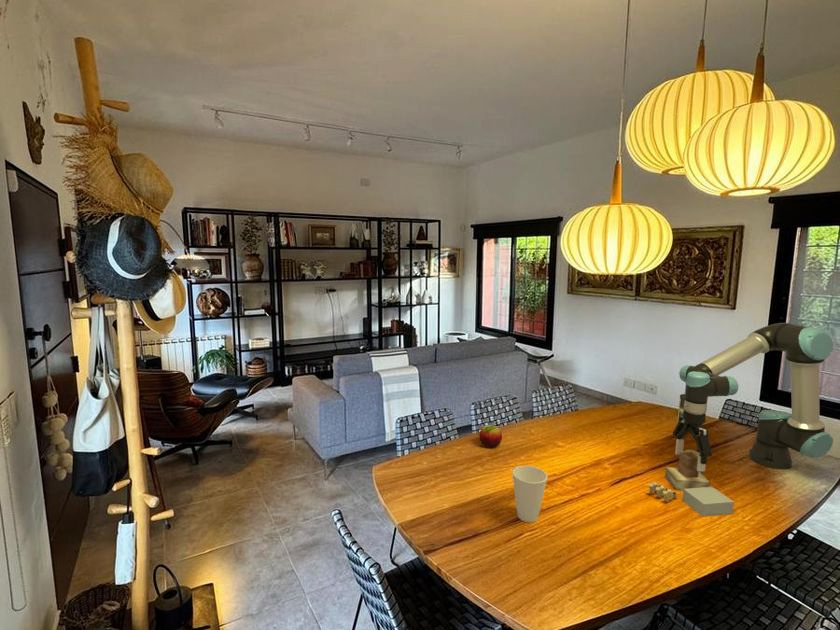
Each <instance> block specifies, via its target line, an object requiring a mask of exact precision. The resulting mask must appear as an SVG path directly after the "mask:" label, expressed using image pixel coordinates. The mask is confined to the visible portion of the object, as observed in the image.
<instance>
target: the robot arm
mask: <svg viewBox="0 0 840 630" xmlns="http://www.w3.org/2000/svg"><path fill="white" fill-rule="evenodd" d="M833 350H834V341H833V339H832V336H831V335H830V334H829V333H827V332H826V331H825V330H822V329H819V328H816V327H814V326H813V327H812V326H804V325H800V324H794V323H793V324H792V323H788V322H778V323H773V324H769V325H766V326H764V327H761V328H758V329H755V330H754V331H753V332H751V333H749V334H748V335H747V337H746V338H745V339H743V340H740V341H739V342H737V343H736V344H733V345H732V346H730V347H728V348H726V349H724V350H722V351H721V352H719V353H717V354H715V355H713V356H711V357H709V358H708V359H706V360H704V361H702V362H700V363H698V364H696V365H691V364H690V365H688V364H687V365H684V366H682V367H681V368H680V370H679V378H680V380H681V381H682V382H684V383H685V389H684V390H685V391H684V394H685V401H684V409H685V410H684V411H683V417H680V418H679V421H678V423H677V424H676V426H675V428H674V430H673V431H672V435H673V436H675V450H674V451H675V452H674V454H675V455H677V456H680V453H683V451H684V447H685V445H684V443H685V437H686V436H687V435H688V434H690V435H691V436H692V439H694V441H695V443H696V446H697V449H698V452H700V454H699V455H698V464H697V471H704V472H706V466H707V460H708V458H709V457H713V453H712V449H711V443H710V439H709V429H704V428H703V424H705V423H706V415H707V414H706V413H707V411H708V409H707V407H708V399H709V397H729V396H734V395H736V394H737V393H738V391H739V383H738V381H737V379H735V377H732V376H728V375H723V376H722V374H725V373H726V372H728V371H729V370H731V369H733V368H734V367H736V366H739V365H741V364H742V363H744V362H746V361H748V360H749V359H751V358H753V357H756V356H757V355H760V354H766V353H768V352H770V351H771V352H772V351H780V352H785V361H787V362H788V363H790V381H791V383H790V384H791V385H790V386H791V387H790V388H791V389H790V390H791V412H787V411H781V410H773V409H766V410H761V411H760V412H759V416H758V418H757V427H756V437H755V440H754V441H755V442H754V443H753V445H752V447H751V448H750V449H749V453H748V458H749V459H750V460H751V461H753V462H755V463H757V464H760V465H761V466H765V467H768V468H773V469H779V470H788V469H791V468H792V464H793V460H792V458H791V452H790V449H792V450H794V451H796V452H798V453H800V454H801V455H804V456H807V457H809V458H812V459H818V458H821V457H823V456H825V455H826V454H827V453H828V452H829V451H830V450H831V449H832V447H833V443H834V438H833V436H832V435H831V433H828V432H825V430H826V429H825V427H826V426H825V423H824V422H823V421H822V420H820V366H821V364H823V363H824V362H825V360H826V359H827V358H828V357H830V355H831V353H832V352H833Z"/></svg>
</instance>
